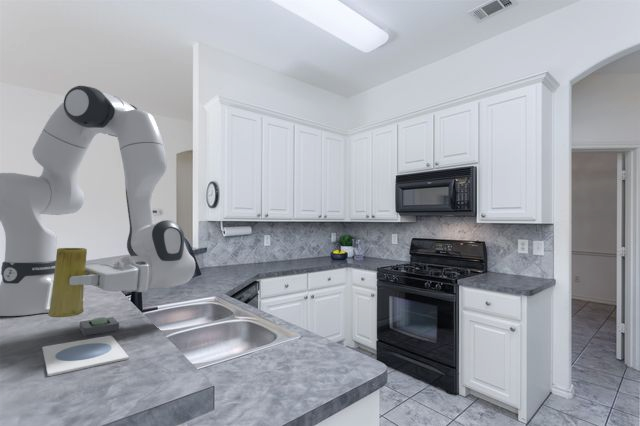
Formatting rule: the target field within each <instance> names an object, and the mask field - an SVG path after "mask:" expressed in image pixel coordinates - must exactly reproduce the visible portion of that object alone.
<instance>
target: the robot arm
mask: <svg viewBox="0 0 640 426" xmlns="http://www.w3.org/2000/svg"><path fill="white" fill-rule="evenodd" d="M97 134H104V135H108V136H111V137H116V138H117V141H118V147H119V150H120V157H121V160H122V161H121V162H122V166H123V173H124V184H125V198H126V206H127V213H128V214H127V215H128V221H129V223H128V224H129V233H128V236H127V241H126V249H127V252H128V254H129V255H124V256H123V257H122V258H121V260H120V261H116V262H115V264H113V263H102V262H101V263H100V262H99V263H96V262H95V263H86V265H85V275H83V276H79V275H76V276H69V277H68V284H70V285H85V286H94V287H96V288H97V289H100V290H103V291H107V292H124V293H129V292H130V293H132V292H137V293H143V292H144V293H145V292H147V291H148V290H149V289H152V288H156V289H157V288H158V289H164V288H172V287H176V286H181V285H185V284H186V283H188V282H189V281H190V280H191V279H192V278H193V276H194V274H195V271H196V261H195V258H194V257H193V256H192V255H191V254H190V252H189V250H188V247H187V245H186V242H185V234H184V233H185V232H184V231H183V229H182V227H181V226H180V225H179V224H177V223H176V222H175V221H172V220H169V219H168V220H165V219H164V220H161V221H159V222H156V223H155V222H154V221H155V219H154V213H153V207H152V206H153V205H152V196H153V191H154V190H155V189H156V186H157V184H158V183H159V181H160V180H161V179H162V177H163V176H164V174H165V173H166V171H167V164H168V163H167V154H166V150H165V144H164V141H163V137H162V133H161V131H160V128H159V127H158V124H157V122H156V119H155V118H154V116H153V115H152V114H151V113H150V112H148V111H146V110H143V109H138V107H136V106H135V105H133V104H130V103H128V102H127V101H125V100H123V99H121V98H120V97H117V96H115V95H112V94H109V93H107V92H104V91H100V90H99V89H97V88H95V87H91V86H87V85H76V86H74V87H72V88H70V89H69V90H68V91H67V92H66V94H65V96H64V100H63V102H62V103H61V104H60V105H59V106H58V107H57V108H56V109H55V110H54V112H53V113H52V114H51V115H50V117H49V119H48V120H47V121H46V123H45V125H44V127H43V128H42V130H41V133H40V134H39V136H38V138H37V140H36V142H35V144H34V146H33V148H32V156H33V158H34V160H35V161H36V162H37V164H39V165H40V166H41V167H42V173H41V175H39V176H36V175H35V176H34V175H30V174H29V175H27V174H23V173H16V172H0V223H1V225H2V227H3V231H4V237H5V251H4V253H5V254H4V261H3V262H2V264H1V270H0V275H1V278H2V279H1V281H0V317H16V316H29V315H38V314H46V313H49V309H50V302H51V296H52V288H53V280H54V273H55V264H56V254H57V245H58V236H57V234H56V232H55V231H53V230H52V229H50V228H49V227H46V226H45V225H44V223H43V221H42V218H41V215H49V216H50V215H51V216H53V215H54V216H61V215H63V216H64V215H69V214H74V213H77V212H78V211H80V210H81V208H82V207H83V205H84V202H85V194H84V192H83V190H82V188H81V187H80V186H79V184H78V183H79V182H78V171H79V168H80V166H81V163H82V161H83V159H84V158H85V155H86V153H87V151H88V149H89V147H90V145H91V143H92V141H93V139H94V137H95V136H96V135H97ZM83 302H86V301H85V297H83Z"/></svg>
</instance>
